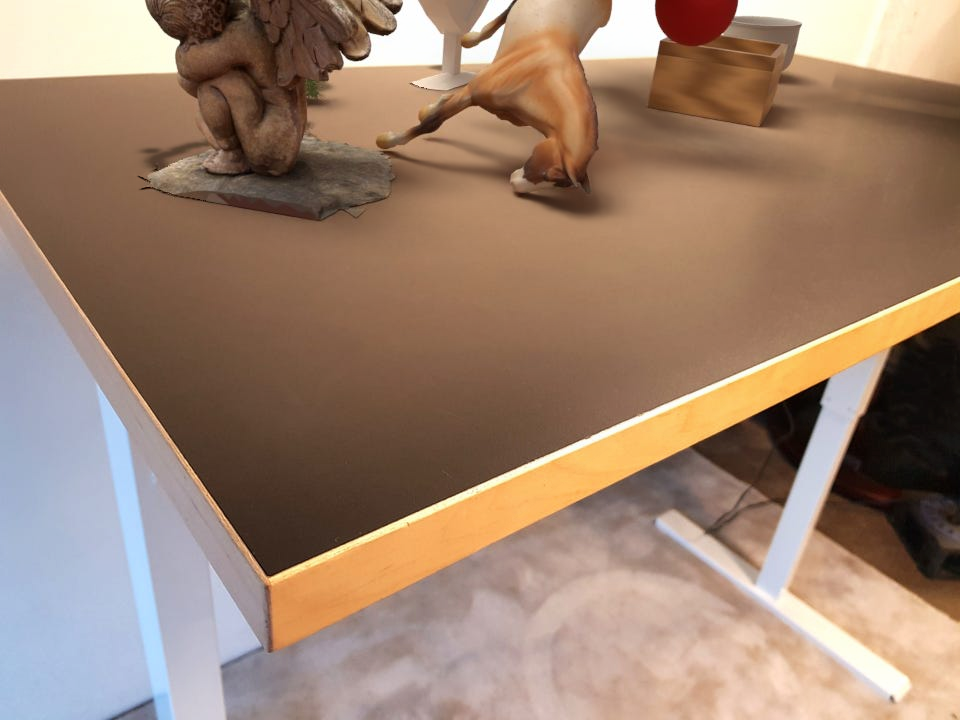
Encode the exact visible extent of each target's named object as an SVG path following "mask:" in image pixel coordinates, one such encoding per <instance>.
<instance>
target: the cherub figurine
mask: <svg viewBox="0 0 960 720" xmlns="http://www.w3.org/2000/svg"><path fill="white" fill-rule="evenodd" d="M403 1H404V0H144V2H145V5H146V9H147V11H148V13H149V15H150V16H151V18H152V19H153V20H154V21H155V22H156V24H157V25H158V26H159V28H160V29H161V30H162V32H163V33H164V34H166V35H167V36H168V37H170V38H172V39H173V40H177V41H179V44H178V45H177V47H176V48H175V53H174V59H175V66H176V70H177V73H176V79H177V82H178V85H179V86H180V87H181V88H182V90H184V92H185V93H187V94H188V95H189V96H191V97H193V98H194V99H197V104H198V108H199V109H198V111H197V112H196V116H195V123H196V126H197V129H198V130H199V132H200V133H201V134H202V135H203V137H204V138H205V140H206V141H207V143H208V144H209V145H210V146H211V149H207V150H208V151H206V150H205V151H203V152H204V153H203V152H201V153H199V154H195V155H193V156H191V155H190V156H187V157H186V158H183V160H182V159H180V160H178V161H176V162H172V163H170V164H168V165H167V166H168V167H167V166H165V167H163V168H160V169H161V170H159V171H157V170H155V171H154V172H149V173H150V174H148V175H147V176H146V177H147V178H148V179H150V180H151V182H149V184H152V185H153V186H154V187H157V188H158V189H162V190H165V191H168V192H170V193H172V194H175V195H180V196H185V197H184V198H186V197H190V198H189V199H192V198H195V199H194V200H197V199H200V200H199V201H203V200H204V201H203V202H210V203H216V204H221V205H226V206H231V207H232V206H233V207H238V208H243V209H250V210H255V211H256V210H257V211H261V212H268V213H273V214H279V215H285V216H290V217H297V218H303V219H307V220H314V221H319V222H322V221H323V219H326V218H327V217H329V216H332V215H333V214H336V213H337V212H338V210H343V211H346V212H347V213H348V214H349V215H351V216H352V217H354V218H356V219H357V218H358V217H359V216H361V214H362V213H364V211H366V209H361V208H360V209H359V208H353V207H356V206H362V205H365V204H367V203H372V202H379V201H382V200H384V199H387V198H388V197H389V195H390V193H391V192H392V184H391V182H390V181H392V180H393V179H395V178H396V175H395V174H394V173H391V168H392V166H393V163H392V160H391V159H389V158H395V157H396V158H397V157H398V158H399V155H385V152H383V151H379V150H373V149H368V148H365V147H361V146H354V145H349V144H348V143H347V142H344V143H342V142H339V141H338V142H337V141H334V140H332V141H322V140H320V139H319V138H316V137H312V136H309V135H307V134H305V132H306V128H307V124H308V123H307V122H308V101H307V100H308V98H307V96H306V86H305V78H307V79H310V80H314V81H315V82H320V83H322V82H321V81H323V82H324V83H327V82H329V80H330V76H329V75H330V74H332V73H333V71H342V69H343V67H344V64H345V62H344V58H345V59H346V60H348V61H351V62H355V63H356V62H362V61H365V60H366V59H367V58H369V56H370V54H371V52H372V41H371V36H370V34H372V35H377V36H381V37H384V36H386V37H388V36H390V35H391V34H393V33H394V32H395V31H396V30H397V27H398V21H397V18H396V17H395V15H397V14H399V13H400V12H401V11H402V8H403V6H404V5H403V4H404V2H403ZM343 56H344V57H343ZM307 79H306V80H307ZM314 81H313V82H314ZM326 81H327V82H326ZM153 165H154V166H153V167H152V168H156V169H159V163H156V162H154V161H153ZM169 165H170V166H169ZM180 196H179V197H180ZM205 200H206V201H205ZM351 207H352V208H351Z"/></svg>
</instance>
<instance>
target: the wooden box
mask: <svg viewBox="0 0 960 720" xmlns="http://www.w3.org/2000/svg"><path fill="white" fill-rule="evenodd" d="M658 43H659V44H658V49H657V55H656V60H655V65H654V70H653V76H652V82H651V86H650V92H649V97H648V102H647V108H649V109H656V110H661V111H666V112H667V111H668V112H673V113H678V114H683V115H688V116H693V117H694V116H695V117H699V118H706V119H712V120H718V121H724V122H728V123H734V124H740V125H745V126H751V127H757V128H759V127H760V125H761V124H762V122H763V121H764V119H765V118H766V117H767V115H768V113H769V112H770V110H771V109H772V108H773V105H774V100H775V97H776V93H777V90H778V86H779V82H780V77H781V73H782V72H783V71H782V67H783V63H784V59H785V56H786V52H787V48H788V44H781V43H774V42H767V41H760V40H753V39H746V38H739V37H732V36H725V35H723V34H722V35H721V36H719V37H718V38H717V39H715V40H713V41H712V42H710V43H707V44H704V45H701V46H684V45H680V44H677V43H675V42H674V41H672V40H671V39H669V38H668V37H667V36H666V37H664V38H662V39H660V40H659V42H658ZM781 71H782V72H781Z"/></svg>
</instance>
